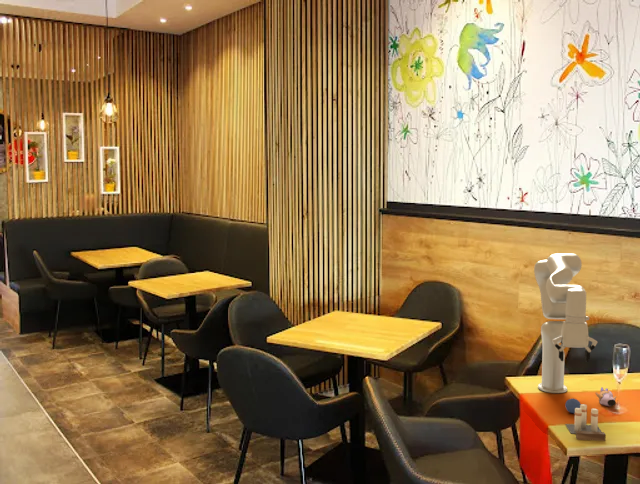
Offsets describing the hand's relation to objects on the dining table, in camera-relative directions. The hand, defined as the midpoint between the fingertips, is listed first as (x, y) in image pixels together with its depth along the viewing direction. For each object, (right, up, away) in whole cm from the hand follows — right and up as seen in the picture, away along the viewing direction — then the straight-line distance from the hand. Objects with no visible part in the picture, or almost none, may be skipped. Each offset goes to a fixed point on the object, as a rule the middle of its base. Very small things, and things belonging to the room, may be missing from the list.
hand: (574, 360), depth 263 cm
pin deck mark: (-1, -25, -12) cm, 27 cm away
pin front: (0, -24, -10) cm, 26 cm away
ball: (+2, -20, +5) cm, 21 cm away
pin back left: (+2, -25, -14) cm, 29 cm away
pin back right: (-4, -25, -14) cm, 29 cm away
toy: (+20, -22, +16) cm, 34 cm away
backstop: (-2, -26, -21) cm, 33 cm away
